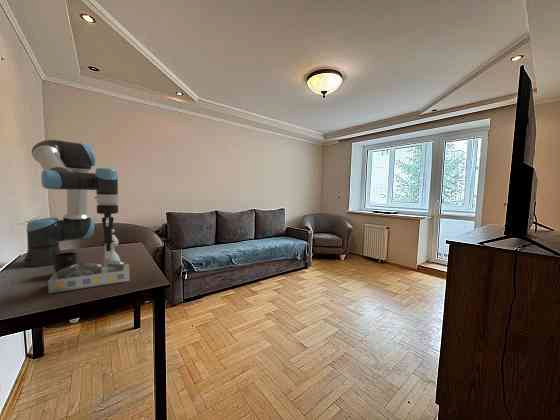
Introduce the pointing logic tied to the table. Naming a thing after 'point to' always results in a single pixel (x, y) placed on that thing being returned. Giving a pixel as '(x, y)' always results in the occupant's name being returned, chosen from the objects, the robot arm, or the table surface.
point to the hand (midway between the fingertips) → (108, 257)
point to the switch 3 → (115, 264)
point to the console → (88, 278)
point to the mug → (64, 260)
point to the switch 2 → (92, 267)
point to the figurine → (115, 256)
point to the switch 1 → (67, 270)
